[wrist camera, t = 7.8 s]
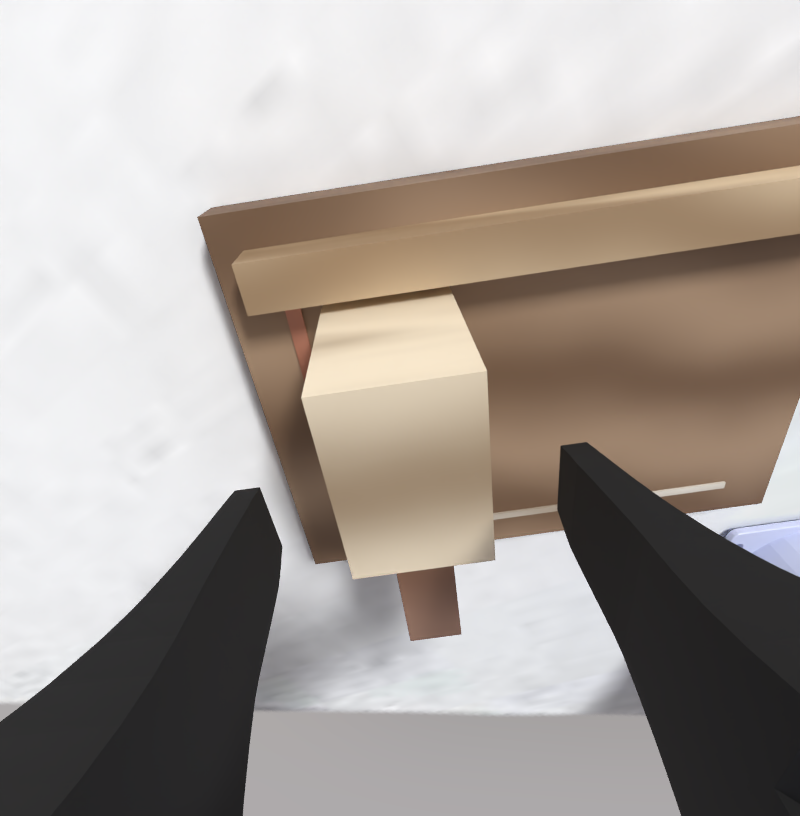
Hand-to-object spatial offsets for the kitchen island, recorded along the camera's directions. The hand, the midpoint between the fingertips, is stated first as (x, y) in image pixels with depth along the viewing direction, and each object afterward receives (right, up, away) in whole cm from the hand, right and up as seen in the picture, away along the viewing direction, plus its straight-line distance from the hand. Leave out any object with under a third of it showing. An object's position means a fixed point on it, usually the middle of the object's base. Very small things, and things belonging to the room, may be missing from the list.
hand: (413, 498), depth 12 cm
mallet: (0, +1, +7) cm, 7 cm away
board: (+5, +4, +7) cm, 9 cm away
